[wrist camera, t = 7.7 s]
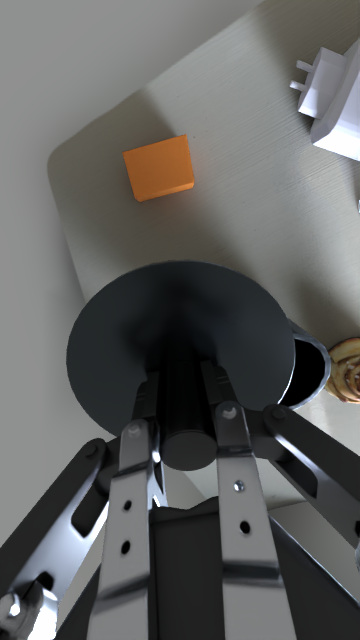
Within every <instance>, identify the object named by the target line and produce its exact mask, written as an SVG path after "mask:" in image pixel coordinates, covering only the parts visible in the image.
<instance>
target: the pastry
mask: <svg viewBox="0 0 360 640" xmlns="http://www.w3.org/2000/svg"><path fill="white" fill-rule="evenodd" d="M328 354H329V355H330V356H331V358H330V359H331V370H330V375H329V377H328V379H327V381H326V383H325V385H324V388H325V389H326V391H327V392H329V393H330V394H331V395H333V396H335V397H337V398H339V399H340V400H341V401H342V402H345V403H347V402H351V403H359V404H360V338H351V339H347V340H344V341H343V342H341V343H339V344H338V345H336V346H335V347H333V348H331V349H330V350H329V351H328Z"/></svg>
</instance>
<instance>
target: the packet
mask: <svg viewBox="0 0 360 640" xmlns="http://www.w3.org/2000/svg"><path fill="white" fill-rule="evenodd" d="M122 153H123V157H124V161H125V164H126V168H127V171H128V175H129V179H130V182H131V186H132V189H133V193H134V197H135V198H136V199H137V200H138V201H139V202H142V201H146V200H149V199H153V198H157V197H161V196H164V195H168V194H172V193H176V192H179V191H183V190H187V189H191V188H192V187H193V184H194V176H193V170H192V164H191V159H190V153H189V147H188V141H187V136H186V134H185V135H181V136H178V137H174V138H171V139H167V140H164V141H160V142H157V143H153V144H150V145H146V146H142V147H139V148H135V149H132V150H128V151H125V152H122Z"/></svg>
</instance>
